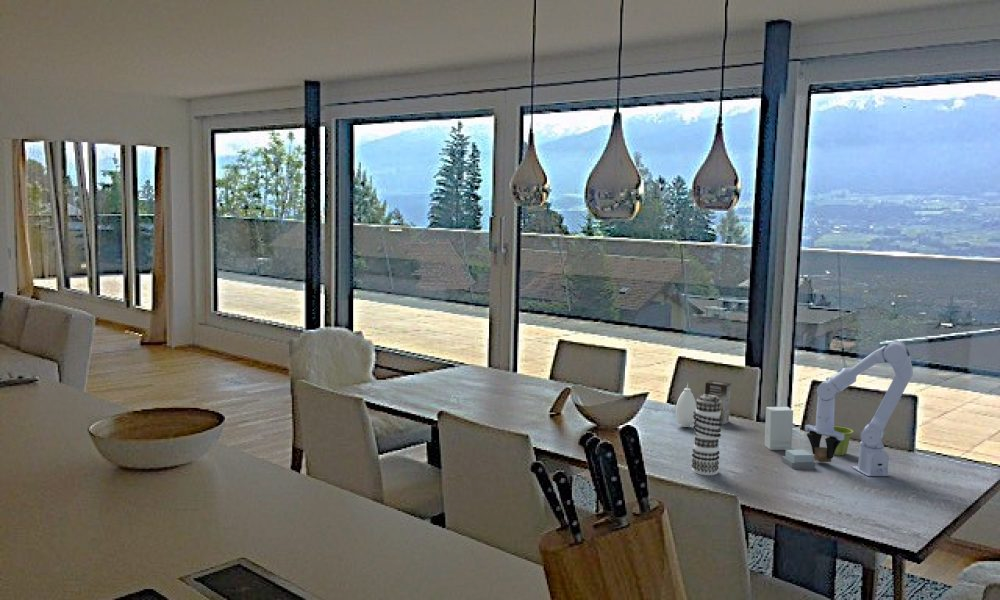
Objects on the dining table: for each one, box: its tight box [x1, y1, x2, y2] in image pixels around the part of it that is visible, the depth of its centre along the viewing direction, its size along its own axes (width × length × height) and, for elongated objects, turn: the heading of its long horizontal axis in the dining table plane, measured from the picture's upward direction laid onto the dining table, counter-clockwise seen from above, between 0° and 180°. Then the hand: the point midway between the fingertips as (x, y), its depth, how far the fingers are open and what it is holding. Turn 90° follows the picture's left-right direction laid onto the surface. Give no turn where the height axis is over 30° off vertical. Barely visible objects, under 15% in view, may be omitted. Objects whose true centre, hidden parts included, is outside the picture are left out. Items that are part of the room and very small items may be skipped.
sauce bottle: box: [675, 381, 697, 428], centre depth 330 cm, size 8×8×18 cm
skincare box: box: [764, 406, 794, 451], centre depth 304 cm, size 8×6×15 cm
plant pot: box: [826, 425, 854, 456], centre depth 300 cm, size 9×9×9 cm
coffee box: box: [704, 379, 732, 425], centre depth 341 cm, size 9×6×16 cm
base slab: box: [781, 455, 816, 470], centre depth 284 cm, size 8×8×2 cm
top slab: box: [784, 449, 814, 463], centre depth 284 cm, size 6×6×2 cm
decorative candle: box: [691, 393, 723, 476], centre depth 273 cm, size 9×9×25 cm
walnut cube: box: [813, 446, 832, 463], centre depth 286 cm, size 4×4×4 cm
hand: (822, 456), depth 286 cm, fingers closed on walnut cube, 5 cm apart
